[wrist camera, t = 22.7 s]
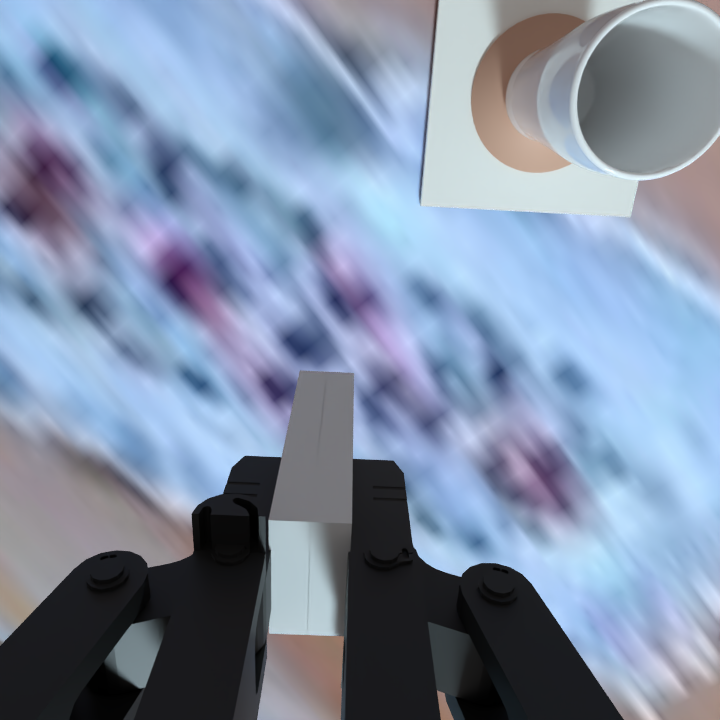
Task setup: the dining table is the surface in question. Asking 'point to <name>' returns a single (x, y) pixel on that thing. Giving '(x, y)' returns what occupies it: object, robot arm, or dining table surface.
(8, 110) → the dining table surface
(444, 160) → the white flat square plate
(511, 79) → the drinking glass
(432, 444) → the dining table surface
